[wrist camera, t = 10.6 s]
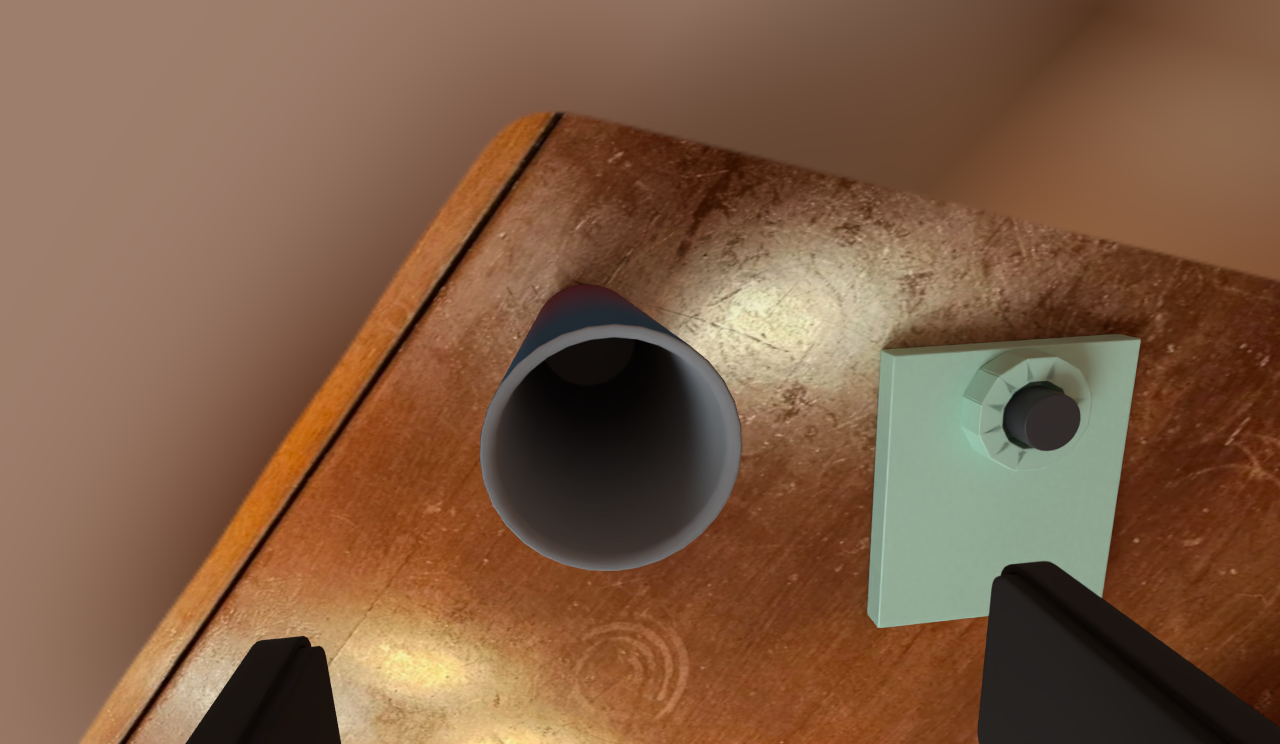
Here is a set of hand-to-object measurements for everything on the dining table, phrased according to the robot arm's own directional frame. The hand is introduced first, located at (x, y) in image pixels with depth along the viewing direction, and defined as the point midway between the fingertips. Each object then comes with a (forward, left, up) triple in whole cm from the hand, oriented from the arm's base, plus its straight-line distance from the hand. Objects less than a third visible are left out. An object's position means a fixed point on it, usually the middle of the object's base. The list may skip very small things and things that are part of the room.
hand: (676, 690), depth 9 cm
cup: (0, 0, -24) cm, 24 cm away
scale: (+9, +21, -24) cm, 33 cm away
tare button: (+4, +21, -21) cm, 30 cm away
